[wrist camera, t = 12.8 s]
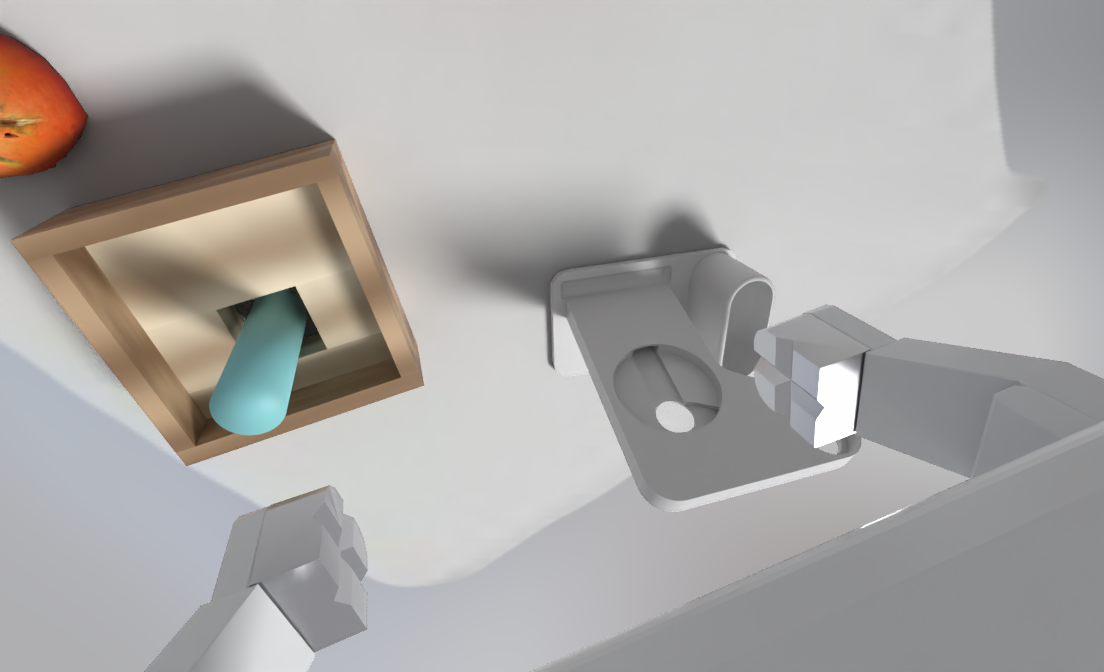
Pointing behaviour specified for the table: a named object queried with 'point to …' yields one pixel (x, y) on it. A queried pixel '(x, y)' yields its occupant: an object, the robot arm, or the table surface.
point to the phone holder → (682, 373)
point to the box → (230, 290)
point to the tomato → (34, 112)
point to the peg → (261, 366)
